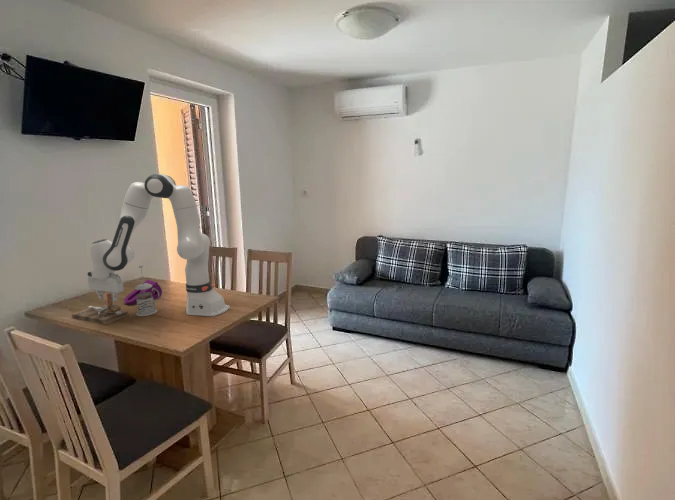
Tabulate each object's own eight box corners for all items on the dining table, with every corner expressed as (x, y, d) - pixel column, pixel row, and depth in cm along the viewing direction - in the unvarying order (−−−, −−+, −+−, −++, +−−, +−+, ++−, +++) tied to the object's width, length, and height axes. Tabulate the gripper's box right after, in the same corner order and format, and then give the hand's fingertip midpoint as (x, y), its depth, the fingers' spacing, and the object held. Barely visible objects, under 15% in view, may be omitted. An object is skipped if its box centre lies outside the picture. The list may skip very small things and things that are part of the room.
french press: (137, 310, 197) (131, 263, 192) (161, 307, 201) (156, 261, 196) (134, 317, 188) (128, 268, 183) (160, 313, 192) (154, 265, 187)
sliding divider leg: (115, 310, 191) (112, 292, 189) (100, 315, 184) (98, 297, 182) (111, 309, 192) (108, 291, 190) (96, 315, 185) (93, 296, 183)
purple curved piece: (138, 315, 207) (164, 293, 219) (130, 303, 203) (156, 282, 214) (129, 311, 213) (155, 290, 224) (120, 300, 208) (147, 279, 220)
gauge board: (128, 315, 190) (126, 304, 189) (106, 324, 180) (104, 313, 178) (95, 309, 199) (93, 299, 198) (72, 317, 188) (70, 307, 187)
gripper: (125, 272, 185) (128, 299, 187) (96, 269, 192) (100, 295, 195) (113, 276, 179) (117, 304, 182) (83, 272, 187) (88, 299, 189)
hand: (108, 299), depth 188 cm, fingers open, 8 cm apart
